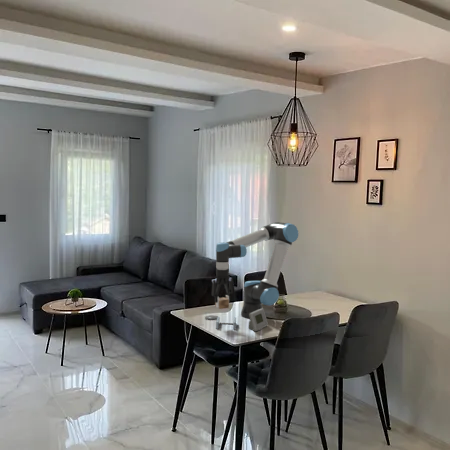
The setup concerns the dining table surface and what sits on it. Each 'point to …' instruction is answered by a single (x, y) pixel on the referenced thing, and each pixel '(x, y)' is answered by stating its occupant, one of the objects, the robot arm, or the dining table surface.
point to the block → (223, 303)
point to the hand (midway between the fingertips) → (222, 306)
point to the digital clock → (257, 320)
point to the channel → (226, 323)
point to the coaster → (211, 317)
